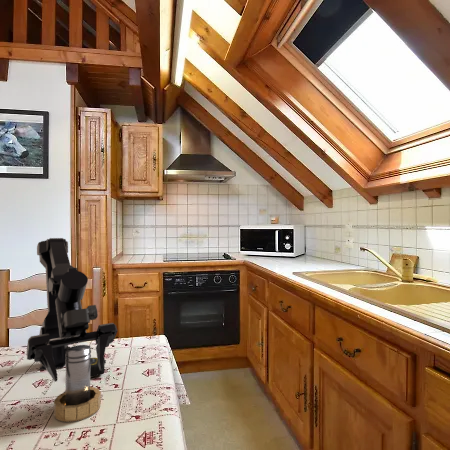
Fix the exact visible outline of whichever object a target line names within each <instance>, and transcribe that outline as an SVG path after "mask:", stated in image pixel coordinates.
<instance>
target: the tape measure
mask: <svg viewBox="0 0 450 450" xmlns="http://www.w3.org/2000/svg"><path fill="white" fill-rule="evenodd" d="M106 361H107V359H105V357H104V362H103V368H102V370H100V369H99V366H98V359H97V357H91V358H90V378H92V377H96V376H101V375H103V374H104V373H105V372H106V371H105V369H106V368H105V365H106V363H107V362H106Z"/></svg>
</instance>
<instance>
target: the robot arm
mask: <svg viewBox="0 0 450 450" xmlns="http://www.w3.org/2000/svg"><path fill="white" fill-rule="evenodd" d="M68 253H69V242H68V241H67V240H66V238H63V237H53V238H52V237H50V238H47V239H46V240H41V241H39V242H38V243H37V244H36V255H37V256H39V263H40V264H41V265H42V266H43V268H45V281H46V282H45V284H46V302H47V304H46V305H47V314H46V316H45V318H44V319H43V322H42V323H41V325H42V326H41V327H40V328H39V329H40V330H39V334H37V335H31V336H29V338H28V339H27V345H26V360H29V361H31V360H33V361H34V363H38V362H39V363H40V364H41V366H39V370H46V371H47V372H48V374H49V375H50V377H51V378H52V380H53V381H54V383H55V382H56V383H57V382H58V371H57V369H63V368H64V367H66V361H65V359H66V357H65V354H66V350H67V349H68V348H70V347H71V346H69V345H76V344H80V343H85V342H90V341H95V344H96V346H95V351H96V358H97V359H98V366H99V369H100V370H102V368H103V362H104V358H105V353H106V348H108V347H109V346H110V345H111V344H112V343H113V342H115V341H114V340H115V338H116V336H117V333H118V328H117V325H116V324H115V323H114V322H109V323H103V324H98V327H97V329H96V330H95V331H89V332H87V330H89V327H90V326H89V325H90V324H89V323H90V322H91V321H94V320H97V318H98V308H97V305H96V304H91V305H88V306H86V308H83V306H82V302H81V300H83V299H84V295H85V291H86V288H87V286H88V281H89V279H88V278H89V277H88V276H87V275H86V274H85V273H84V272H82V271H79V270H78V267H74V266H72V265H71V262H70V258H69V254H68Z"/></svg>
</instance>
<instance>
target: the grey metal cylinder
mask: <svg viewBox="0 0 450 450" xmlns="http://www.w3.org/2000/svg"><path fill="white" fill-rule="evenodd" d="M69 347H70V348H68V349H67V350H66V354H65V357H66V359H65V361H66V365H65V391H64V392H65V405H67V406H71V405H79V404H82V403H86V402H88V401H89V400H90V387H91V377H90V358H92V355H91V353H92V350H91V346H90V345H88V344H80V345H78V344H77V345H74V346H73V345H72V346H69Z"/></svg>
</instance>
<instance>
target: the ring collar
mask: <svg viewBox="0 0 450 450" xmlns="http://www.w3.org/2000/svg"><path fill="white" fill-rule="evenodd" d="M101 397H102V391H100V389H99V388H97V387H93V386H90V400H89V401H88V402H86V403H82V404H79V405H71V406H67V405H65V391H63V392H62V393H60V394H58V395H57V396H56V398H55V399H54V401H53V415H54V419H55V420H56V421H58V422H61V423H74V422H79V421H83V420H86V419H87V418H88V419H89V418H90V417H92V416H93V415H95V414H96V413H98V411H99V410H100V408H101V404H102V398H101Z"/></svg>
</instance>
